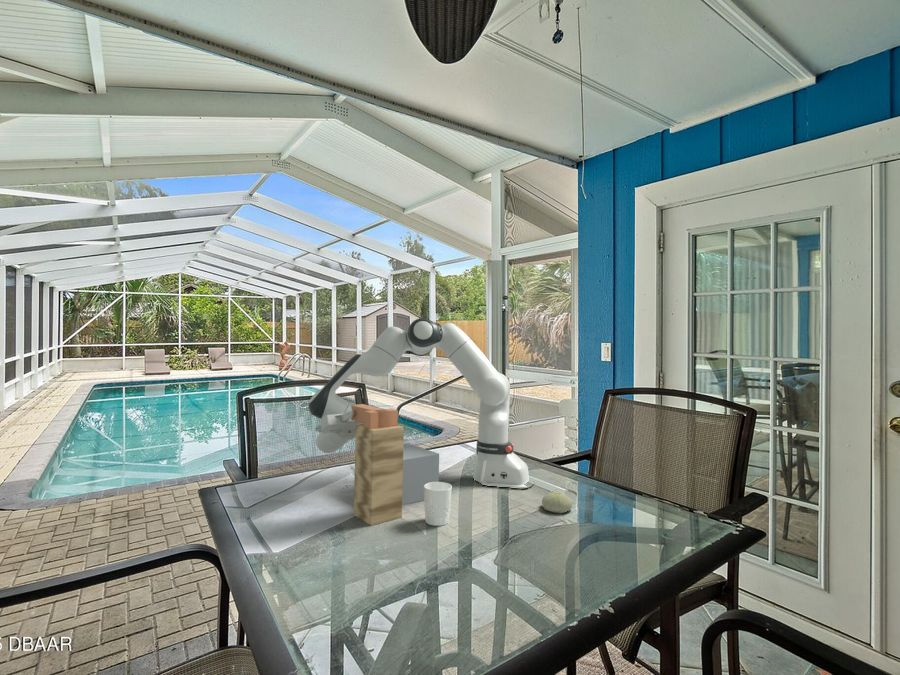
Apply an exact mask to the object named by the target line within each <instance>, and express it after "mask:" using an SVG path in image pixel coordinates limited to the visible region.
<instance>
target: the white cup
mask: <svg viewBox="0 0 900 675" xmlns="http://www.w3.org/2000/svg"><path fill="white" fill-rule="evenodd" d="M452 490H453V486H452V484H450V483H448V482H443V481H439V482H430V483H427V484H425V485H424V500H423V504H424V521H425V523H426V524H427V525H430V526H434V527H440V526H445V525H448V524H449V522H450V518H451V517H450V516H451V515H450V513H451V506H452V505H451V504H452V492H453V491H452Z"/></svg>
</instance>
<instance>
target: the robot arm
mask: <svg viewBox="0 0 900 675" xmlns="http://www.w3.org/2000/svg"><path fill="white" fill-rule="evenodd" d="M433 349H437V350H440V351H441V352H442V353H443V354H444V355H445V357H446V358H448V360H449V361H450V362H451V364H452V365H453V366H454V367H455V368H456V369H457V371H459V373H460V374H461V375H462V376H463V378H464V379H465V380H466V382H467V384H468V385H469V386H470V388H471V389H472V390H473V391H474V393H475V394H476V395H477V396H478V398H479V399H480V402H479V403H480V404H479V410H478V411H479V412H478V425H477V426H478V428H477V429H478V432H477V433H478V434H477V435H478V436H477V441H476V449H475V450H476V464H475V467H474V472H473V476H472V479H473V478H474V479H475V480H476V481H478V482H480V483H481V484H482V485H490V486H497V487H496V488H499V487H518V488H519V487H527V486H526V485H524V484H526V483H527V482H528V481H529V476H530V474H529V473H530V472H529V467H528V465H527V463H526V462H525V461H524V460H522V459H521V458H520V457H519V456H518V455H517V454H515V452H514V447H515V444H514V443H511V442H510V441H509V426H510V425H509V423H510V422H509V419H510V403H511V402H510V398H511V383H510V380H509V379H508V377H507V376H506V375H504V374H503V373H500V372H499V371H497V369H496V368H495V367H494V365H493V364H492V363H491V361H490V360H489V359H488V358H487V356H486V355H485V354H484V352H483V351H481V349H480V348H479V347H478V346H477V344H475V342H474V341H473V340H472V338H470V337H469V335H467V333H466V332H464V331H463V329H461V328H460V327H459V326H457V325H456V324H454V323H453V322H446V323H444V324H440V323H438V322H435V321H433V320H430V319H428V318H424V317H420V318H417V319H415V320H413V321H412V322H411V323H410V325H409V327H408V329H406V330H404V329H402V328H400V327H398V326H388V327H387V328H385V330H383V332H381V334H380V335H379V336H378V337H377V338H376V340H375V341H374V342H373V343H372V345H371V347H370V348H369V349H368V350H367V351H365V352H364V353H362V354H361V353H357V354H355V355H353V357H351V358H349V360H348V361H347V362H346V363H345V364H344V365H343V366H342V367H341V368H340V369H338V371H337V372H336V373H335V374H334V375H333V376H332V377H331V378H330V379H329V380H328V381H327V382H326V383H325V385H324V386H322V387H321V388H320V389H318V390H317V391H316V392H315V393H314V394H313V395H312V396H311V398H310V399H309V402H308V403H307V404H308V405H307V406H308V410H309V412H310V414H311V416H314V417H316V418H318V419H320V420H319V423H318V424H319V425H317V426H316V427H315V428H314V430H315V432H319V433H318V435H317V436H316V437H315V438H316V439H315V444H316V447H317V449H318V450H319V451H320V452H322V453H323V454H333V453H335V452H337V451H338V450H340V449H341V448H343V446H345V445H346V444H347V443H348V442H350V441H353V440H355V435H356V425H359V424H363V423H360V422H357V421H354V420H351V418H352V417H355V416H356V410H351V407H352V405H354V404H352V403H351V402H349V401H347V400H345V398H343V397H341V396H340V395H338V394H337V393H336V391H337V390H338V389H339V388H340V386H342V385H343V384H344V383H345V381H346V380H347V379H348V378H349V377H350V376H352V375H354V374H363V375H366V376H372V377H384V376H387V375H389V374H390V373H391V372H392V371H393V369H394V368H395V367H396V365H397V364H398V362H399V361H400V359H401V357H402V356H403V354H409V355H413V356H416V357H417V356H418V357H424V356H428V354H430V353H431V352H432V351H433ZM475 480H474V481H475ZM476 481H475V482H476ZM478 482H477V483H478ZM480 483H479V484H480ZM481 484H480V485H481ZM482 485H481V486H482Z"/></svg>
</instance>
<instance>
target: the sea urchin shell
mask: <svg viewBox="0 0 900 675" xmlns="http://www.w3.org/2000/svg"><path fill="white" fill-rule="evenodd" d="M541 506H542V508H543V509H544V510H545V511H548V512H550V513H555V514H565V512H566V513H568V512H570V511H571V510H572V508H573V502H572V499H571V498H570V497H569V496H568V495H567V494H565V493H563V492H561V491H552V492H547V493H546V494H545V495H544V496H543V497H542V499H541ZM567 511H568V512H567Z"/></svg>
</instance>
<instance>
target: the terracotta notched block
mask: <svg viewBox="0 0 900 675" xmlns="http://www.w3.org/2000/svg"><path fill="white" fill-rule="evenodd" d="M351 410H356V416H355V417H352V418H351V420H354V421H357V422H360V423H363V424H364V427H366V428H369V429H375V428H383V427H392V426H398V425H399V423H398V421H399V410H398V409H394V408H380V407H376V406H373V405H367V404H365V403H361V404H353V405H352V407H351Z"/></svg>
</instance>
